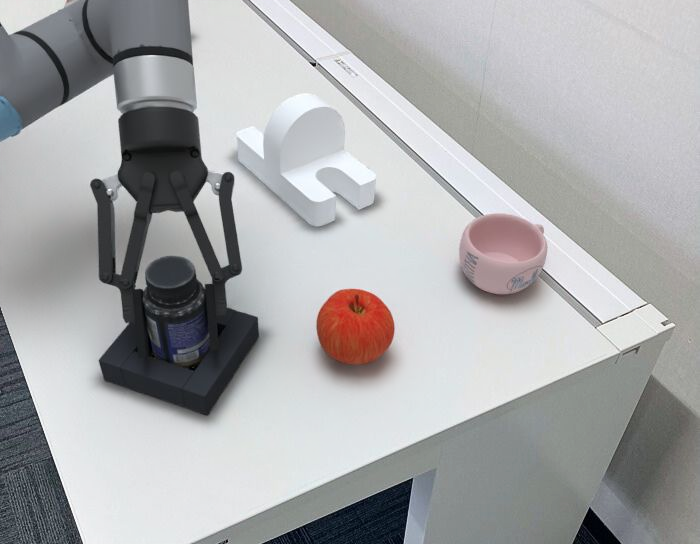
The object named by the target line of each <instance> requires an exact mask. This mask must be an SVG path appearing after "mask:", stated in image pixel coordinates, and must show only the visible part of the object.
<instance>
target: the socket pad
mask: <svg viewBox="0 0 700 544" xmlns="http://www.w3.org/2000/svg"><path fill="white" fill-rule="evenodd" d="M216 321H217V333H218V344H219V351H210V350H209V351H208V353H207V354H206V356H205V357H204V358H203V360H202V361H201V363H200V364H199V365H198V366H197V367H195V370H192V369H186V368H183V367H180V366H177V365H174V364H172V363H169V362H166V361H163V360H160V359H157V358H155V356H147V357H139V358H138V348H137V337H136V326H135V322H133V323H127V325H126V327H125V328H124V329H122V331H121V332H120V334H118V336H117V337H116V338H115V340H114V341H113V342H112V343H111V345H110V346H109V347H108V348H107V349H106V350H105V351H104V353H103V354H102V355H101V357H100V358H99V359H98V364H99V367H100V371H101V375H102V378H103V380H104V381H106V382H109V383H111V384H115V385H117V386H121V387H124V388H127V389H130V390H132V391H136V392H139V393H141V394H144V395H147V396H150V397H153V398H155V399H159V400H162V401H165V402H167V403H170V404H173V405H176V406H178V407H182V408H185V409H188V410H190V411H193V412H197V413H199V414H202V415H205V416H209V414H210V412H211V411H212V409H213V408H214V407H215V405H216V403H217V402H218V400H219V399H220V397H221V396H222V394H223V392H224V391H225V389H226V388H227V387H228V385H229V383H230V382H231V380H232V379H233V378H234V375H235V374H236V373H237V371H238V369H239V368H240V366H241V365H242V363H243V362H244V360H245V359H246V357H247V356H248V354H249V353H250V351H251V350H252V348H253V346H254V345H255V343H256V342H257V340H258V339H259V337H260V333H259V332H260V331H259V330H260V328H259V317H258V316H256V315H252V314H249V313H247V312H243V311H240V310H237V309H233V308H231V307H228V306H227V312H226V315H223V316H216ZM146 322H147V321H146ZM147 333H148V344H149V355H151V354H153V349H152V345H151V340H150V335H149V331H148V326H147Z"/></svg>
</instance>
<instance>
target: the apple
mask: <svg viewBox="0 0 700 544" xmlns="http://www.w3.org/2000/svg"><path fill="white" fill-rule="evenodd" d="M315 327H316V334H317V337H318V338H317V339H318V341H319V345H320V346H321V348H322V350H323V351H324V352H325V353H326V354H327V355H328V356H329V357H330V358H332V359H333V360H335V361H338V362H340V363H342V364H346V365H356V366H357V365H365V364H368V363H372V362H374V361H376V360H378V359H379V358H380V357H381V356H382V355H383V354H385V352H386V351H387V350H388V349H389V347H390V346H391V344H392V342H393V340H394V337H395V331H396V330H395V329H396V328H395V320H394V317H393V314H392V312H391V310H390V309H389V307H388V306H387V304H385V303H384V301H383V300H382V299H381V298H379V296H377V295H376V294H374V293H372V292H371V291H367V290H363V289H360V288H343V289H339V290H337V291H335V292H334V293H332V294H331V295H330V296H329V298H327V300H326V301H325V302H324V303H323V304H322V306H321V307H320V309H319V311H318V313H317V317H316V326H315Z"/></svg>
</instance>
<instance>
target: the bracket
mask: <svg viewBox="0 0 700 544" xmlns="http://www.w3.org/2000/svg"><path fill="white" fill-rule="evenodd" d="M345 128H346V126H345V122H344V119H343V116H342V115H341V114H340V112H338V110H336V109H335V108H334V107H333V106H331V105H330V104H328V103H327V102H325V100H323V99H322V98H321V97H319V96H317V95H314V94H313V93H308V92H307V93H306V92H304V93H298V94H295V95H293V96H290V97H289V98H287V99H285V100H284V101H283V102H281V103H280V104H279V105H278V106H277V107H276V109H275V110H273V112H272V113H271V115H270V116H269V119H268V121H267V123H266V126H265V129H264V131H263V133H262V132H261V131H260V130H259V129H258V128H257V127H255V126H254V125H251V126H249V127H245V128H243V129H239V130H238V131H237V132H236V144H237V146H236V147H237V160H238V162H240V164H241V165H243V166H244V167H245V168H246V169H247V170H249V171H250V172H251V173H252V174H253V175H254V176H255V177H256V178H257V179H258V180H260V182H262V183H263V184H264V185H265V186H266V187H268V189H270V191H272V192H273V193H274V194H275V195H276V196H278V197H279V198H280V199H281V200H282V201H283V202H284V203H285V204H286V205H288V206H289V207H290V208H291V209H292V210H293V211H294V212H295V213H296V214H298V215H299V216H300V217H301V218H302V219H303V220H304V221H305V222H307V224H309V225H310V226H312V227H323V226H326V225H328V224H331V223H333V222H335V221H336V213H337V210H336V209H337V195H336V194H338V195H340V196H341V197H342V198H343V199H345V200H346V201H347V202H348V203H350V204H351V205H352V206H353V207H355V208H356V209H357V210H358V211H360V210H362V209H364V208H367V207H369V206H372V205H373V204H374V202H375V194H376V191H375V190H376V181H377V175H376V173H375V172H374V171H372V170H371V169H370V168H369V167H367V166H366V165H365V164H363V163H362V162H361V161H360V160H358V159H357V158H356V157H355V156H353V155H352V154H351V153H350V152H348V151H346V149H345V139H346V138H345V137H346V129H345Z"/></svg>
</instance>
